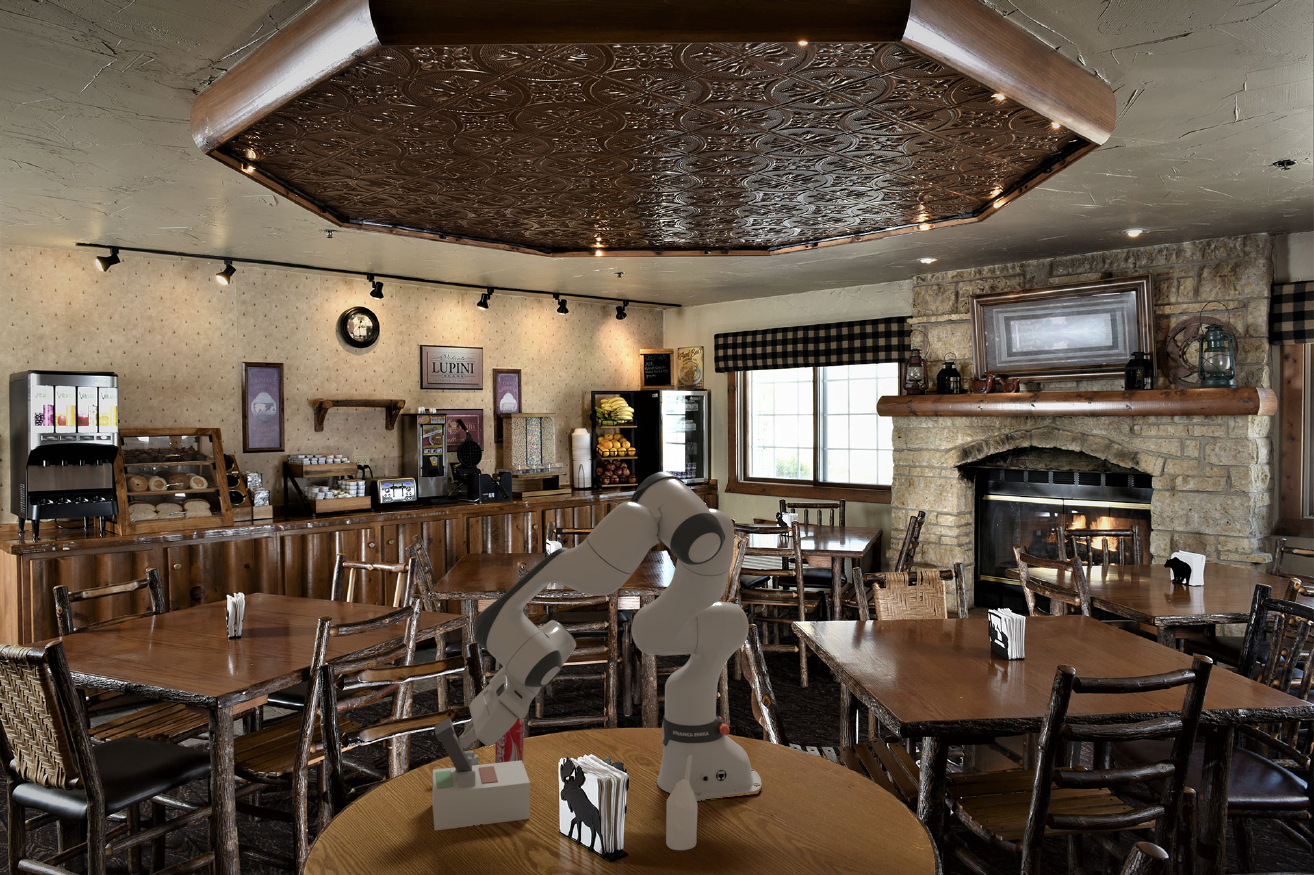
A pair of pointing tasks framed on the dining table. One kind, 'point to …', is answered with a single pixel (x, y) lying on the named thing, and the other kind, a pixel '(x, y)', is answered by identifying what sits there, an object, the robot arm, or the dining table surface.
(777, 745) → the dining table surface
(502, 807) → the breaker box
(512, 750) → the beverage can
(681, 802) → the white squeeze bottle
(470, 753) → the lighter
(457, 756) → the breaker lever
